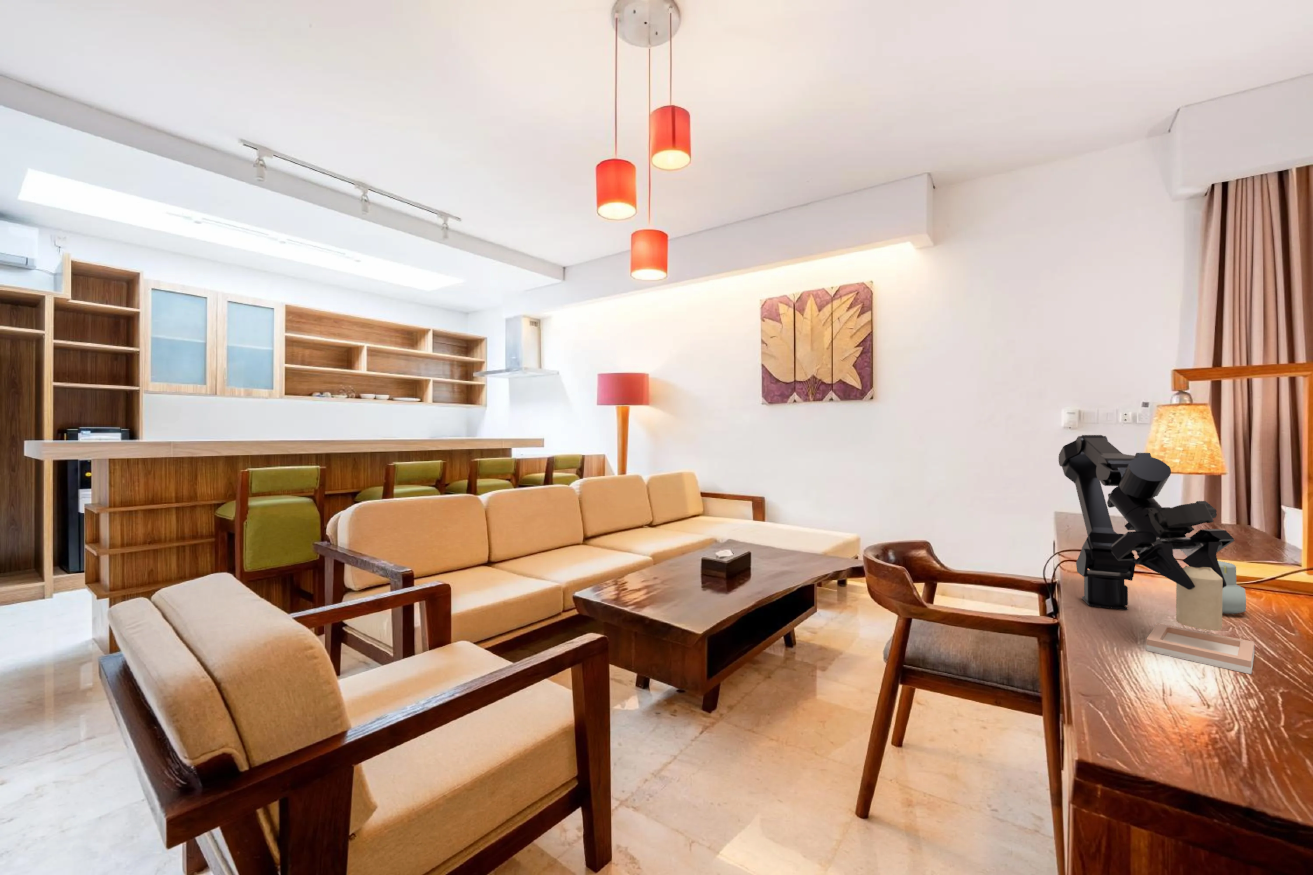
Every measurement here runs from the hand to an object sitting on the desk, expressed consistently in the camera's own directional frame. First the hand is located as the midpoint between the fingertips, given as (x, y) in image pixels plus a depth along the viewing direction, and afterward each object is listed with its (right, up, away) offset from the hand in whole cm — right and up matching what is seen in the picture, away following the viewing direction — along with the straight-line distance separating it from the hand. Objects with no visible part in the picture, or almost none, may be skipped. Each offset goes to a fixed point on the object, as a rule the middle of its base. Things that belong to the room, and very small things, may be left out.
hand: (1208, 587), depth 89 cm
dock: (0, -11, +1) cm, 11 cm away
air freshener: (+26, -11, +23) cm, 36 cm away
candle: (0, -7, +1) cm, 7 cm away
